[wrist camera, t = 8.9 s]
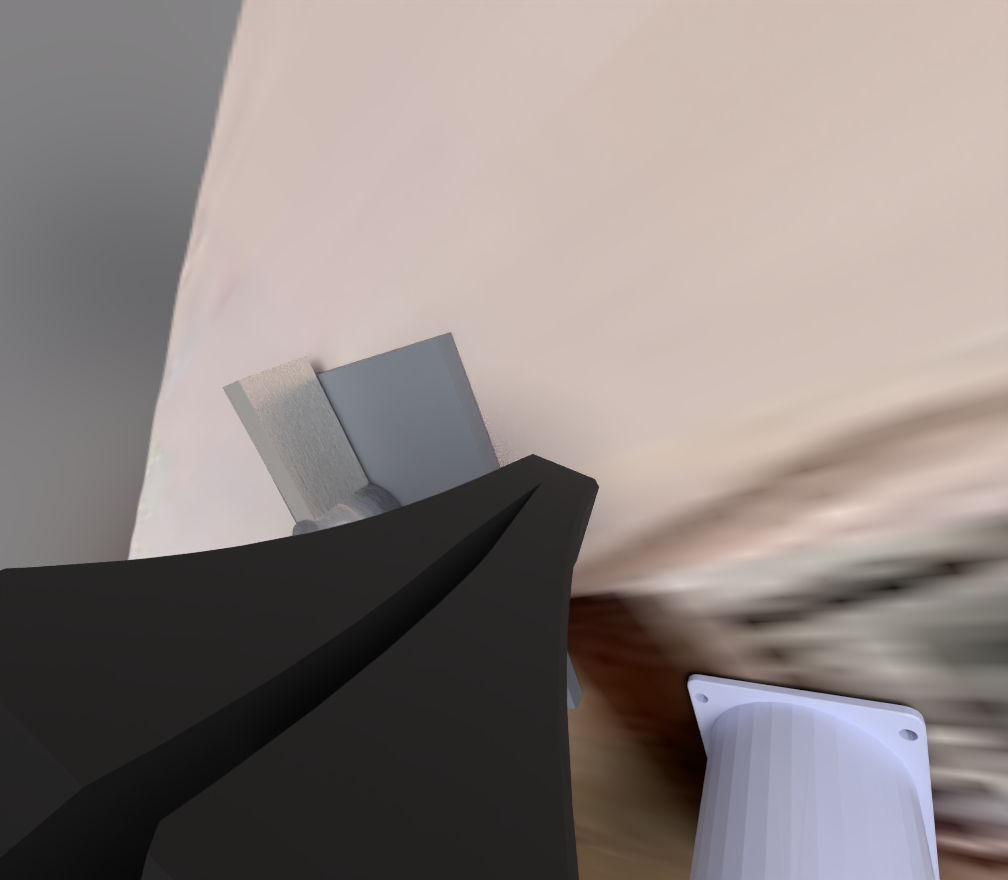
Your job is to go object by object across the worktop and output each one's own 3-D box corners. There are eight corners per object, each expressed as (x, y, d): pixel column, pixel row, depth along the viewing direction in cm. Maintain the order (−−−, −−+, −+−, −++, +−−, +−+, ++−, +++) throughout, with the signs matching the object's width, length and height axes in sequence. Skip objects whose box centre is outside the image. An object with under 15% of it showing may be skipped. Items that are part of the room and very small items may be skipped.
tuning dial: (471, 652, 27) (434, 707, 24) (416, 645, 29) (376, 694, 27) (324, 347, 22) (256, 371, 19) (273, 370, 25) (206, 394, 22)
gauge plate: (582, 693, 26) (574, 714, 25) (379, 653, 35) (367, 667, 34) (450, 332, 20) (432, 340, 19) (247, 395, 29) (227, 403, 28)
